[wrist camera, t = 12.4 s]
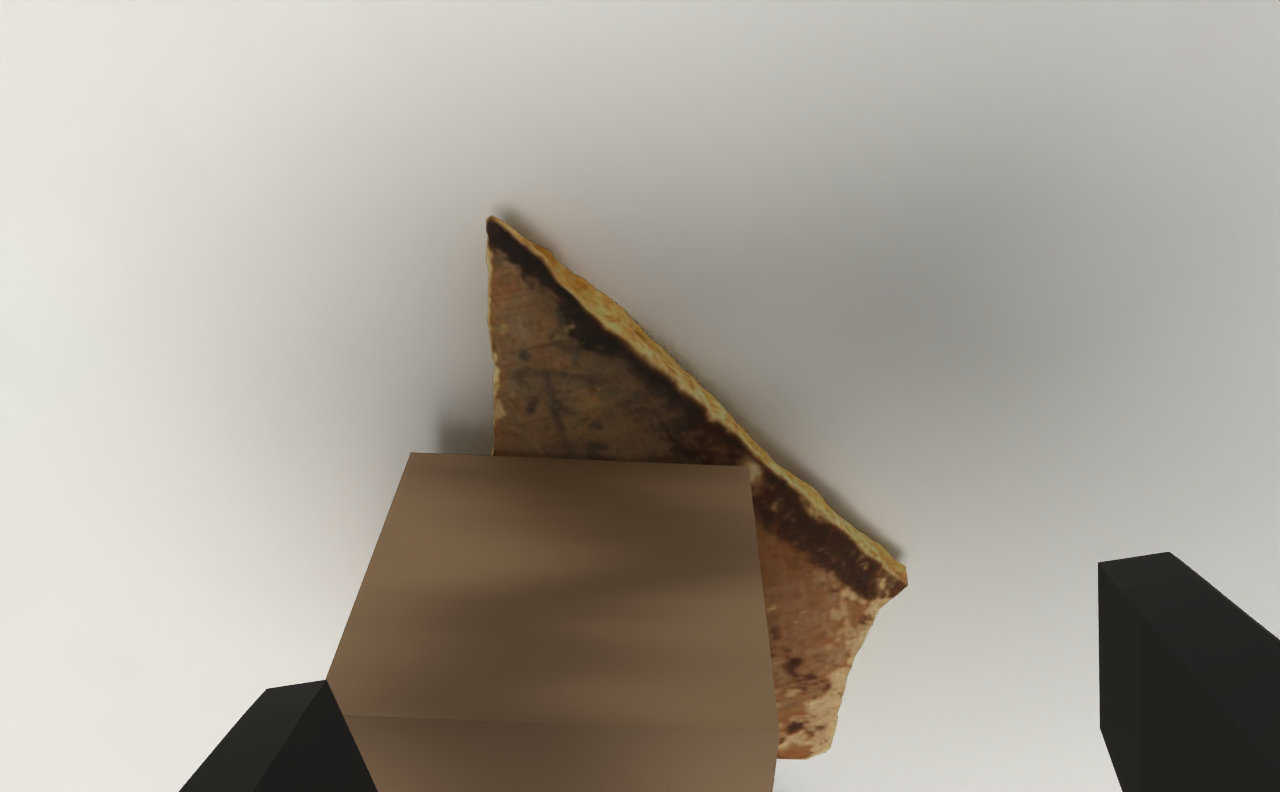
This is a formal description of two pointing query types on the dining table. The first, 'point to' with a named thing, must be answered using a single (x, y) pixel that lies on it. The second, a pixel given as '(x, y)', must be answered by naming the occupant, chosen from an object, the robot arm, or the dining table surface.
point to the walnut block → (562, 631)
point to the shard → (682, 434)
